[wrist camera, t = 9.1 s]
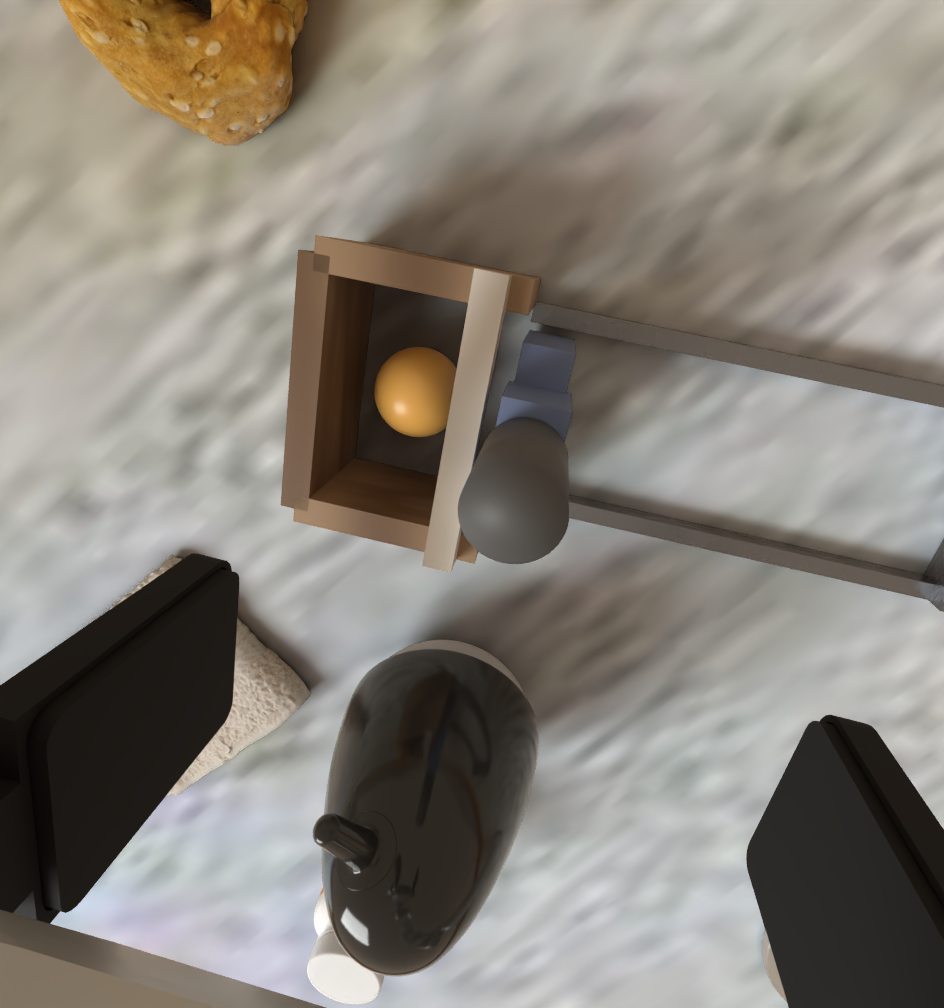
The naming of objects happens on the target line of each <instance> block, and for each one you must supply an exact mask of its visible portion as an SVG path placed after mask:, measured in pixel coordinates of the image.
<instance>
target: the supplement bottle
mask: <svg viewBox="0 0 944 1008" xmlns="http://www.w3.org/2000/svg"><path fill="white" fill-rule="evenodd" d="M314 923H315V928H316V931H317V934H318V936H319V937H318V938H317V941H316V944H315V946H314V949H313V952H312V954H311V957H310V960H309V963H308V967H307V973H308V977H309V979H310V981H311V983H312V984H313V986H314V987H315V988H316V989H317V990H318V991H319V992H321V993H322V994H324V995H325V996H327V997H329V998H331V999H333V1000H336V1001H339V1002H342V1003H347V1004H363V1003H367V1002H370V1001H371V1000H373V999H375V998H376V997H377V995H378V994H379V992H380V990H381V986H382V983H383V979H384V975H380V974H377V973H374V972H371V971H369V970H367V969H365V968H363V967H362V966H360V965H359V964H357V963H356V962H355V961H354V960H353V959H352V958H350V957H349V956H348V954H347V953H346V952H345V951H344V950H343V948H342V947H341V945H340V944H339V942H338V940H337V938H336V936H335V934H334V932H333V929H332V927H331V923H330V920H329V916H328V912H327V907H326V902H325V897H324V890H323V889H322V892H321V894H320V897H319V899H318V902H317V905H316V908H315V913H314Z"/></svg>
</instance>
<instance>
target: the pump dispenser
mask: <svg viewBox="0 0 944 1008" xmlns="http://www.w3.org/2000/svg"><path fill="white" fill-rule="evenodd" d="M538 743H539V735H538V726H537V721H536V718H535V715H534V712H533V710H532V707H531V705H530V704H529V702H528V700H527V698H526V697H525V695H524V693H523V690H522V688H521V687H520V685H519V683H518V681H517V680H516V679H515V677H514V676H513V674H512V673H511V672H510V671H509V670H508V668H507V667H506V666H505V665H504V664H503V663H502V662H500V661H499V660H498V659H497V658H495V657H494V656H493V655H491V654H490V653H488V652H486V651H484V650H483V649H481V648H478V647H476V646H474V645H471V644H468V643H464V642H460V641H454V640H430V641H424V642H420V643H417V644H414V645H411V646H408V647H406V648H404V649H402V650H400V651H398V652H397V653H395V654H394V655H392V656H391V657H389V658H388V659H386V660H384V661H382V662H380V663H379V664H377V665H376V666H375V667H373V668H372V669H371V670H370V671H369V672H368V673H367V674H366V675H365V676H364V677H363V678H362V680H361V681H360V682H359V684H358V685H357V687H356V689H355V691H354V693H353V695H352V697H351V699H350V701H349V703H348V706H347V708H346V711H345V714H344V717H343V720H342V723H341V727H340V730H339V733H338V737H337V741H336V745H335V748H334V752H333V757H332V761H331V766H330V772H329V777H328V784H327V791H326V799H325V808H324V815H323V816H321V817H320V818H319V819H318V821H317V822H316V824H315V826H314V829H313V838H314V841H315V842H316V843H317V844H318V845H319V846H321V847H322V880H323V890H324V897H325V902H326V907H327V912H328V916H329V920H330V923H331V927H332V929H333V932H334V934H335V936H336V938H337V940H338V942H339V944H340V945H341V947H342V948H343V950H344V951H345V952H346V953H347V954H348V956H349V957H350V958H352V959H353V960H354V961H355V962H356V963H357V964H359V965H360V966H362V967H363V968H365V969H367V970H369V971H371V972H374V973H377V974H380V975H385V976H407V975H412V974H415V973H418V972H421V971H423V970H425V969H427V968H429V967H431V966H432V965H434V964H435V963H436V962H438V961H439V960H440V959H441V958H443V957H444V956H445V955H446V954H447V953H448V952H449V951H450V950H451V949H452V948H453V947H454V946H455V944H456V943H457V942H458V941H459V940H460V939H461V937H462V936H463V935H464V934H465V933H466V931H467V930H468V929H469V927H470V926H471V924H472V923H473V922H474V920H475V919H476V917H477V915H478V914H479V912H480V911H481V909H482V907H483V906H484V904H485V902H486V900H487V899H488V897H489V895H490V893H491V891H492V890H493V888H494V886H495V884H496V882H497V880H498V877H499V875H500V873H501V871H502V869H503V867H504V865H505V862H506V860H507V858H508V856H509V853H510V851H511V849H512V846H513V844H514V841H515V838H516V836H517V833H518V830H519V828H520V825H521V822H522V819H523V816H524V812H525V809H526V806H527V802H528V798H529V795H530V791H531V787H532V783H533V778H534V774H535V769H536V764H537V756H538Z"/></svg>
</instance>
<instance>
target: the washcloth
mask: <svg viewBox="0 0 944 1008" xmlns="http://www.w3.org/2000/svg"><path fill="white" fill-rule="evenodd" d="M181 560H182V559H181V558H177V557H174V555H171V556H170V557H169V558H168V559H166V561H165V562H164V563H162V566H161V567H160V569H158V570H157V571H154V572H152V573H150V574H149V576H147V577H146V578H145V580H144V581H143V582H142V583H141V584H139V585H138V586H136V588H135V589H134V590H132V591H131V593H130V594H127V595H124V596H123V597H122V599H121V600H119V601H118V602H116V603H115V605H113V606H112V607H111V608H110V609H112V608H113V607H115V606H116V605H118V604H119V603H120V602H122V601H123V600H125V599H126V598H128V597H129V596H131V595H132V594H133V593H135V592H136V591H138V590H139V589H141V588H142V587H144V586H145V585H147V584H148V583H149V582H151V581H152V580H154V579H155V578H157V577H158V576H160V575H161V574H162V573H164V572H165V571H167V570H168V569H170V568H171V567H173V566H174V565H175V564H177V563H178V562H180V561H181ZM309 696H310V692H309V690H308V689H307V687H306V686H305V684H304V683H303V681H302V680H301V679H300V677H299V676H298V675H297V674H296V673H295V672H294V671H293V670H292V669H291V668H290V666H289V665H287V664H286V663H285V662H284V661H283V660H281V659H280V658H279V657H278V655H277V654H276V653H275V652H273V651H272V650H271V649H269V648H266V647H265V646H264V645H263V644H262V643H261V642H260V641H259V640H258V639H257V638H256V636H255V635H254V634H253V633H251V632H250V631H249V629H248V627H247V626H245V625H244V624H243V623H242V622H241V621H240V620H239V618H238V617H237V633H236V652H235V670H234V689H233V703H232V707H231V711H230V713H229V716H228V718H227V720H226V721H225V723H224V724H223V726H222V727H221V728H220V729H219V731H218V732H217V733H216V734H215V735H214V737H213V738H212V739H211V740H210V742H209V743H208V744H207V745H206V747H205V748H204V749H203V750H202V752H201V753H200V754H199V755H198V757H197V758H196V759H195V760H194V762H193V763H192V764H191V765H190V767H189V768H188V769H187V770H186V771H185V773H184V774H183V775H182V776H181V778H180V779H179V780H178V781H177V783H176V784H175V785H174V786H173V788H172V789H171V790H170V791H169V793H168V794H167V795H166V796H170V795H171V794H173V795H178V794H180V793H182V792H183V791H184V790H185V789H187V788H188V787H189V786H191V785H192V784H193V783H195V782H196V781H198V780H199V779H201V778H202V777H203V776H205V775H206V774H207V773H209V772H211V771H212V770H214V769H216V768H217V767H219V766H221V765H222V764H224V763H226V762H228V761H229V760H230V759H232V758H233V757H234V756H236V755H237V754H238V753H239V752H241V751H242V750H243V749H245V748H246V747H248V746H249V745H250V744H252V743H254V742H256V741H257V740H259V739H260V738H262V737H264V736H266V735H267V734H269V733H270V732H271V731H273V730H275V729H276V728H278V727H279V726H280V725H281V724H282V723H283V722H285V721H286V719H287V718H289V717H290V715H291V714H292V713H294V712H295V711H296V710H297V709H299V708H300V707H301V706H302V704H303V703H304V702H305V701H306V700H307V699H308V697H309Z"/></svg>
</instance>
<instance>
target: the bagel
mask: <svg viewBox="0 0 944 1008" xmlns="http://www.w3.org/2000/svg"><path fill="white" fill-rule="evenodd" d="M59 1H60V3H61V6H62V8H63V10H64V12H65V14H66V15H67V17H68V19H69V21H70V23H71V25H72V27H73V29H74V31H75V33H76V34H77V36H78V37H79V39H80V40H81V41H82V43H83V44H84V45H85V46H86V47H87V48H88V49H89V50H90V51H91V52H92V53H93V54H94V55H95V56H96V57H97V58H98V60H99V61H100V62H101V63H102V64H103V65H104V66H105V67H106V68H107V69H108V70H109V71H110V72H111V73H112V74H113V76H114V77H115V78H116V79H117V80H118V81H119V82H120V83H121V85H122V87H123V88H124V89H125V90H126V91H127V92H128V93H129V94H130V95H131V96H132V97H133V98H134V99H136V100H137V101H138V102H140V103H141V104H142V105H144V106H145V107H147V108H149V109H151V110H153V111H156V112H159V113H161V114H163V115H164V116H167V117H169V118H171V119H172V120H174V121H176V122H177V123H178V124H180V125H182V126H184V127H186V128H188V129H190V130H192V131H194V132H196V133H198V134H201V135H205V136H208V137H209V138H210V139H211V140H212V141H214V142H216V143H220V144H223V145H237V146H238V145H240V144H243V143H244V142H246V141H247V140H249V139H251V138H252V137H254V136H255V135H256V134H257V133H262V132H263V131H264V129H265V128H266V127H267V126H269V125H270V124H271V123H272V122H273V121H274V120H275V119H276V118H277V117H278V116H279V115H280V114H281V113H283V112H284V111H285V110H286V109H287V108H288V106H289V102H290V100H291V96H292V82H293V76H292V55H291V50H292V47H293V45H294V42H295V41H296V40H297V38H298V35H299V32H301V31H302V28H303V20H304V17H305V15H307V14H308V5H307V0H211V6H212V7H211V9H212V13H211V15H210V14H207V13H205V12H204V11H202V10H200V9H198V8H196V7H194V6H193V5H192V4H190V3H188V2H187V0H59Z"/></svg>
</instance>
